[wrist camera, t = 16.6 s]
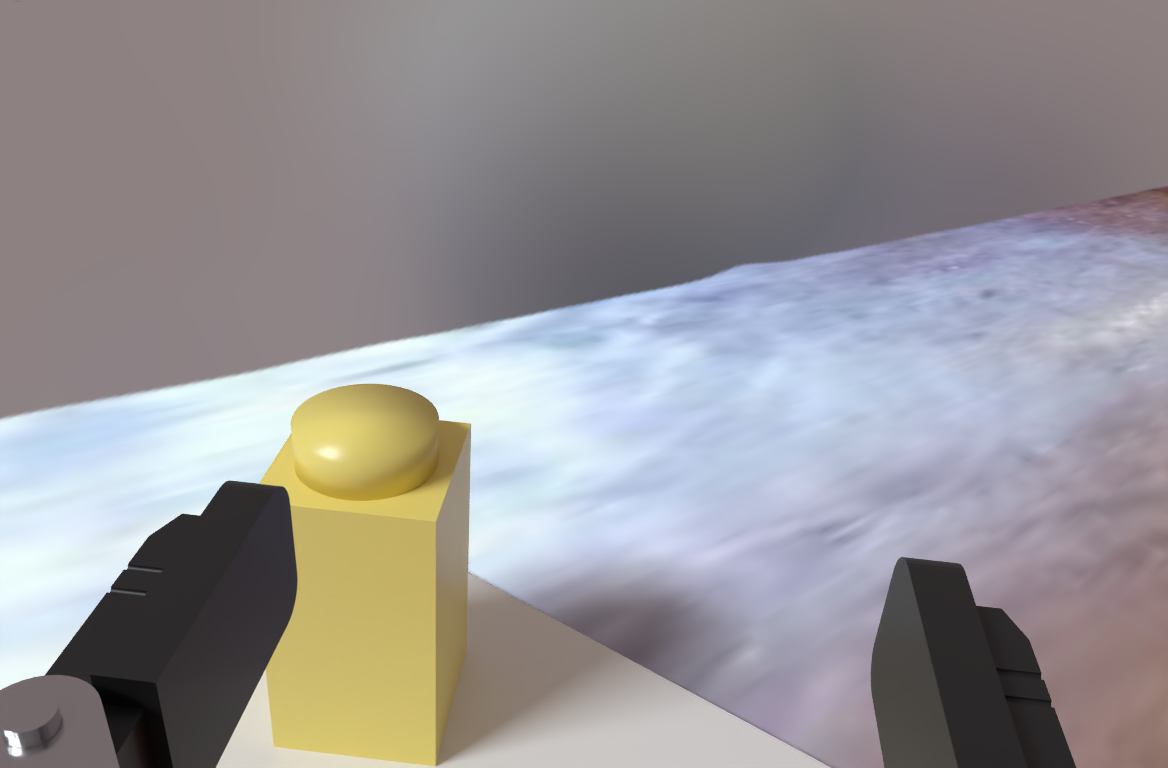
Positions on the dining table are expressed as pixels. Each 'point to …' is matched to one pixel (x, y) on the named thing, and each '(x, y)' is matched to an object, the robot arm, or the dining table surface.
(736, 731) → the plate
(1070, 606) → the dining table surface
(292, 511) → the tall yellow stud brick
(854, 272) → the dining table surface
